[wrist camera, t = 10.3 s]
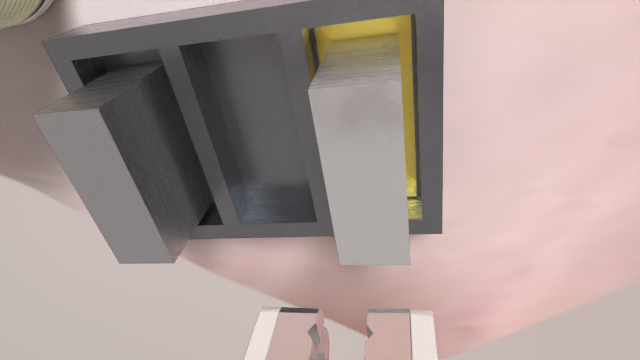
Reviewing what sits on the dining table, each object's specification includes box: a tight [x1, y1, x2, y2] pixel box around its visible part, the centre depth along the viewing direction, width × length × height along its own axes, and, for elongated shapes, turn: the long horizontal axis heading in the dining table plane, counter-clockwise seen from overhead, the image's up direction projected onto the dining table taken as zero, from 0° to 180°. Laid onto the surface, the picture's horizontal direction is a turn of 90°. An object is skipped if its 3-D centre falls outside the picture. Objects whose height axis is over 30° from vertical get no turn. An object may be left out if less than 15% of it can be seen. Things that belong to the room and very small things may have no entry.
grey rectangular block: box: [308, 33, 411, 265], centre depth 17 cm, size 3×8×6 cm, turn 9°
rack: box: [32, 0, 444, 264], centre depth 19 cm, size 18×12×7 cm
